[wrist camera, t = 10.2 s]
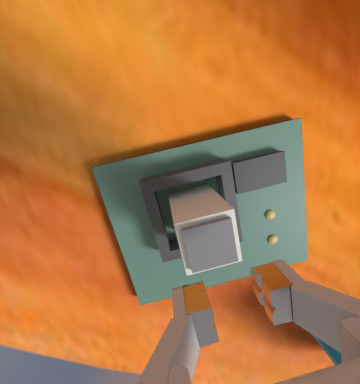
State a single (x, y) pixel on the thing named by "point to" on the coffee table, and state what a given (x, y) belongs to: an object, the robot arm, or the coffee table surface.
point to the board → (226, 187)
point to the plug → (204, 229)
